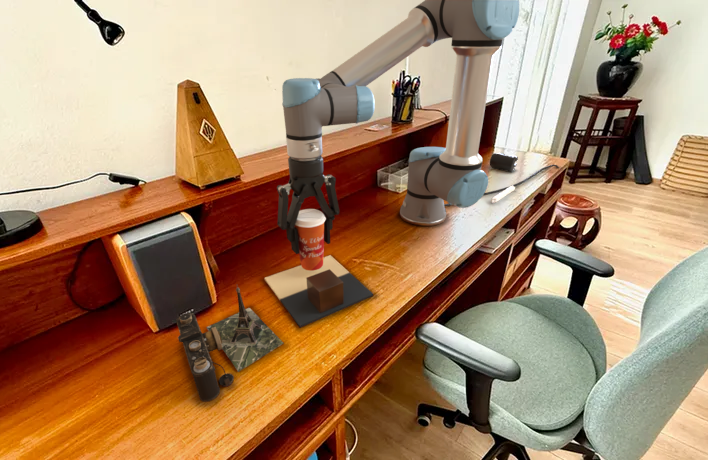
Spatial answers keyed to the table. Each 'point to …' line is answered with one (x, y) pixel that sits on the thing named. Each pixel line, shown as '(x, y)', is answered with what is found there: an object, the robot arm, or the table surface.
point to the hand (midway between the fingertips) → (311, 246)
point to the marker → (502, 194)
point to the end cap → (503, 162)
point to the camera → (202, 356)
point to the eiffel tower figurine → (245, 336)
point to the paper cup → (311, 238)
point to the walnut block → (325, 290)
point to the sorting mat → (295, 295)
